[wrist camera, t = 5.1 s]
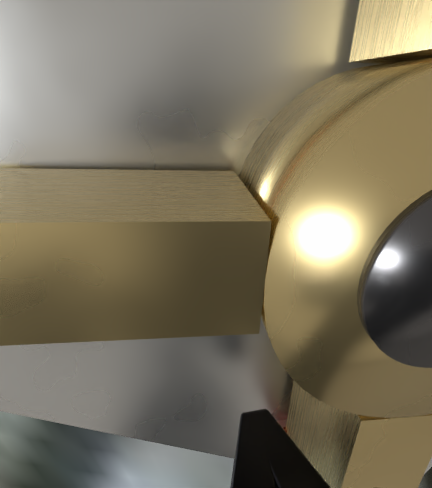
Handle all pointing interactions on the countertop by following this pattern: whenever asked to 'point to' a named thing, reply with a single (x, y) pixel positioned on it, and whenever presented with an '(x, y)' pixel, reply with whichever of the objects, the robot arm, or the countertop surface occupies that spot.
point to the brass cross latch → (267, 254)
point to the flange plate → (155, 158)
